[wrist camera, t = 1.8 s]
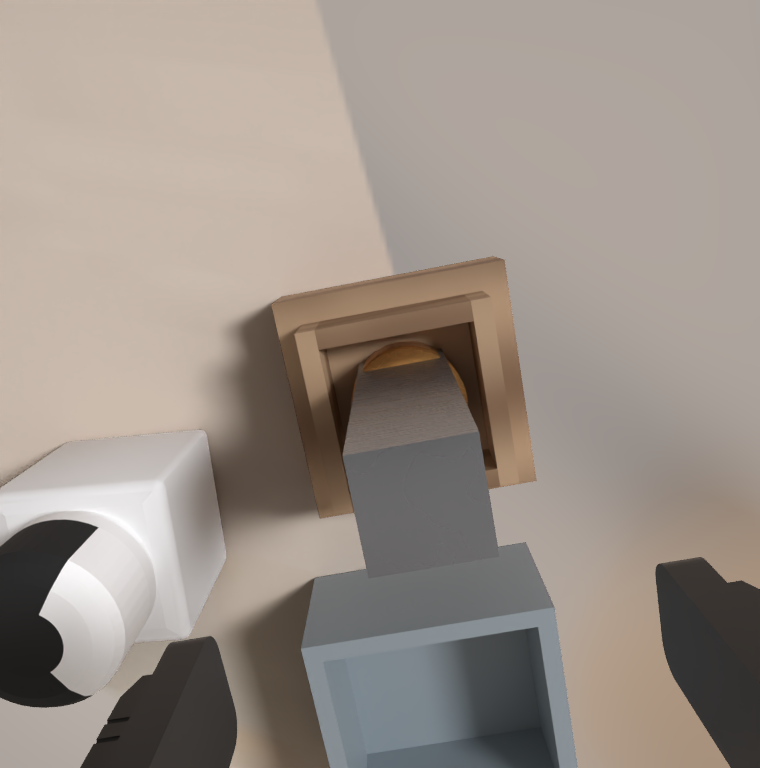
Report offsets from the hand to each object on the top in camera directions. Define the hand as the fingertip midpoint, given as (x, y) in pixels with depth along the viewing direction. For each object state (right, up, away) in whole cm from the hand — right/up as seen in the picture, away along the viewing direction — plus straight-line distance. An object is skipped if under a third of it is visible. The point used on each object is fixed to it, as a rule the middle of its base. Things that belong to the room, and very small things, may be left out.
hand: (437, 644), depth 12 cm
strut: (0, +4, +18) cm, 18 cm away
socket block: (0, +5, +20) cm, 21 cm away
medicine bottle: (-13, -1, +22) cm, 26 cm away
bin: (+2, -10, +24) cm, 26 cm away
